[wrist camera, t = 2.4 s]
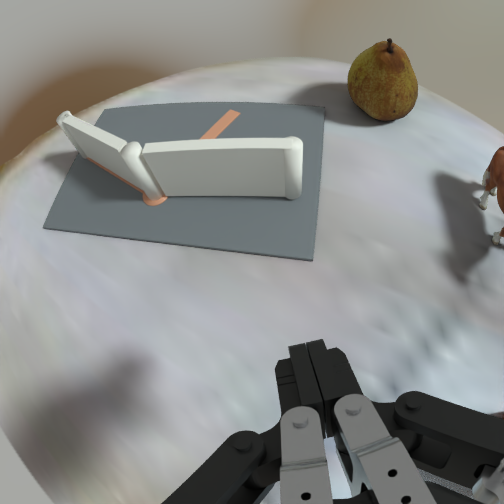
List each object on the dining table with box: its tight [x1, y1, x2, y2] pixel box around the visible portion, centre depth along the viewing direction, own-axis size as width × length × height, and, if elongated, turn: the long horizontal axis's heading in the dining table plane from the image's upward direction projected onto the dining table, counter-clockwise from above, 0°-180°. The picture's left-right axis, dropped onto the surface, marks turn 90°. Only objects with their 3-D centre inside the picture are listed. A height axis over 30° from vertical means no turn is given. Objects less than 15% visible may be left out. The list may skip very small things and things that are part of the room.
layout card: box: [43, 102, 325, 261], centre depth 35 cm, size 32×20×1 cm, turn 80°
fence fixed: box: [57, 111, 164, 201], centre depth 33 cm, size 16×2×8 cm, turn 55°
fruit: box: [347, 39, 418, 121], centre depth 31 cm, size 9×9×12 cm
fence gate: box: [142, 136, 303, 200], centre depth 29 cm, size 14×2×7 cm, turn 85°
